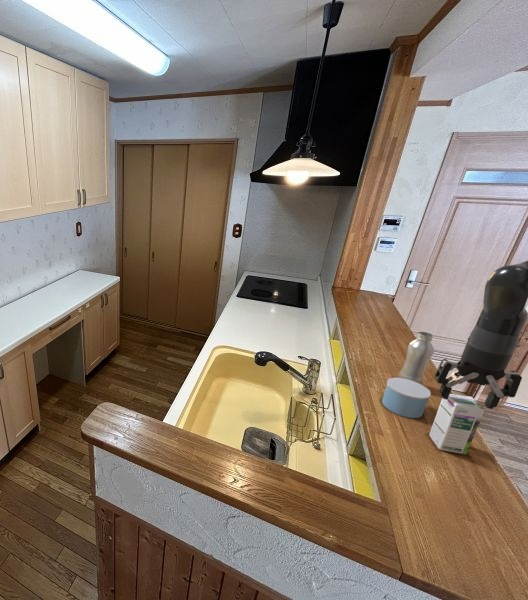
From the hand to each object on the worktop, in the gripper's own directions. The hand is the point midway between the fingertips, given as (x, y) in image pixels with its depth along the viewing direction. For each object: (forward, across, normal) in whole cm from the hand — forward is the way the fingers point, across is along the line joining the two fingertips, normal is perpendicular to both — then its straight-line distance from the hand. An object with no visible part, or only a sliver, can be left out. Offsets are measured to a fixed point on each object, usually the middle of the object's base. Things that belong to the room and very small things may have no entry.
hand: (465, 402), depth 82 cm
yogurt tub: (+14, -7, +14) cm, 21 cm away
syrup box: (+14, 0, 0) cm, 14 cm away
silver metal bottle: (+14, -2, +29) cm, 33 cm away
